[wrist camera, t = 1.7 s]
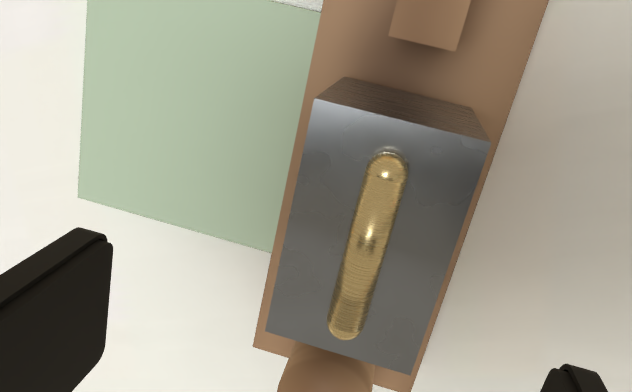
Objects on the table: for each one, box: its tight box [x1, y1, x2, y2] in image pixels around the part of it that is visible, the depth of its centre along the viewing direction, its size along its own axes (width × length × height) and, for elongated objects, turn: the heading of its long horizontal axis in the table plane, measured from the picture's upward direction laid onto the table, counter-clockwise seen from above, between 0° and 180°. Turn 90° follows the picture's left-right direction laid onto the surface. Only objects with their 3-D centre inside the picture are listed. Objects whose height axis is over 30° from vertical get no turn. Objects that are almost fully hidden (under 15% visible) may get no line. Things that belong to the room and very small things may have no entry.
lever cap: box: [265, 76, 491, 376], centre depth 18 cm, size 5×8×7 cm, turn 168°
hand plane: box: [253, 0, 549, 392], centre depth 21 cm, size 8×20×8 cm, turn 168°
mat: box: [78, 0, 321, 253], centre depth 25 cm, size 12×12×1 cm
